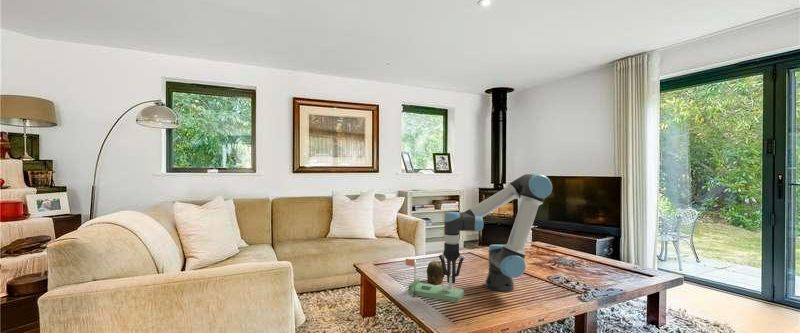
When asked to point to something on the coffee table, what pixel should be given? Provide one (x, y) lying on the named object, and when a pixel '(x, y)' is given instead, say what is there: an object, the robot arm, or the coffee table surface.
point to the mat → (435, 292)
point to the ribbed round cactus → (435, 272)
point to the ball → (445, 287)
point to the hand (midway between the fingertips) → (451, 289)
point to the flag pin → (413, 263)
